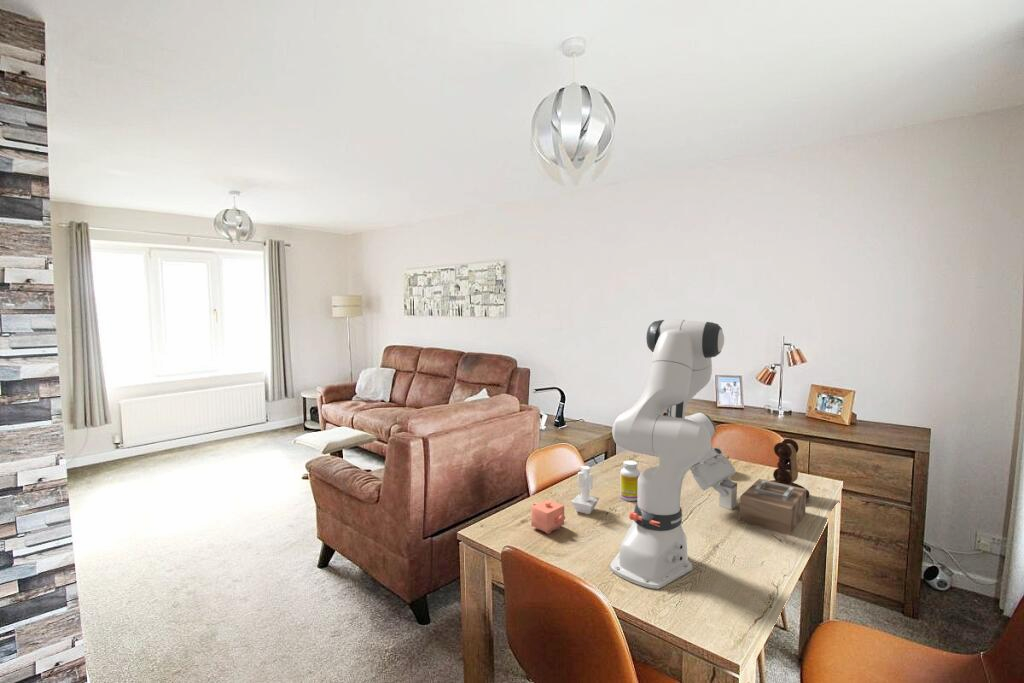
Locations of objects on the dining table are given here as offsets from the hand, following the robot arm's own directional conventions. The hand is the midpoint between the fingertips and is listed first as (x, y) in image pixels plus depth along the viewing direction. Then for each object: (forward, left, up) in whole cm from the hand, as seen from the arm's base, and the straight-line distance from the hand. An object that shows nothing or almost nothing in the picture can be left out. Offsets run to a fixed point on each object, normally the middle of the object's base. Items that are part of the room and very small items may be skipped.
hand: (730, 493), depth 157 cm
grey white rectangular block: (0, +1, -4) cm, 4 cm away
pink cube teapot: (-53, +36, -5) cm, 64 cm away
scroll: (+22, -11, -5) cm, 25 cm away
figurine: (-35, +35, -5) cm, 49 cm away
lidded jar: (+29, +16, -5) cm, 33 cm away
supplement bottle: (-16, +29, -5) cm, 33 cm away
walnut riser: (+1, -13, -4) cm, 14 cm away
